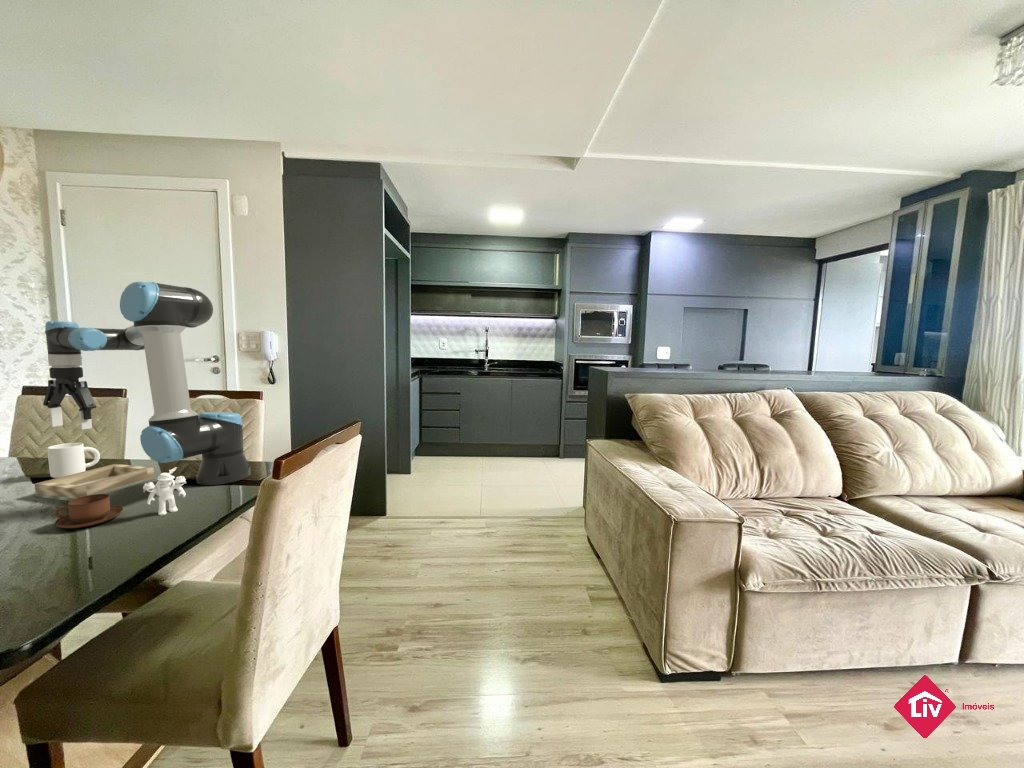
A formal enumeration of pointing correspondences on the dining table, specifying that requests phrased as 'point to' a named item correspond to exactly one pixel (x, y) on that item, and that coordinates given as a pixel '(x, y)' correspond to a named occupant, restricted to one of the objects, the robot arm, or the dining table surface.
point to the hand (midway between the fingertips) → (71, 427)
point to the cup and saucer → (87, 511)
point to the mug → (69, 459)
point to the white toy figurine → (165, 491)
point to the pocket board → (94, 482)
